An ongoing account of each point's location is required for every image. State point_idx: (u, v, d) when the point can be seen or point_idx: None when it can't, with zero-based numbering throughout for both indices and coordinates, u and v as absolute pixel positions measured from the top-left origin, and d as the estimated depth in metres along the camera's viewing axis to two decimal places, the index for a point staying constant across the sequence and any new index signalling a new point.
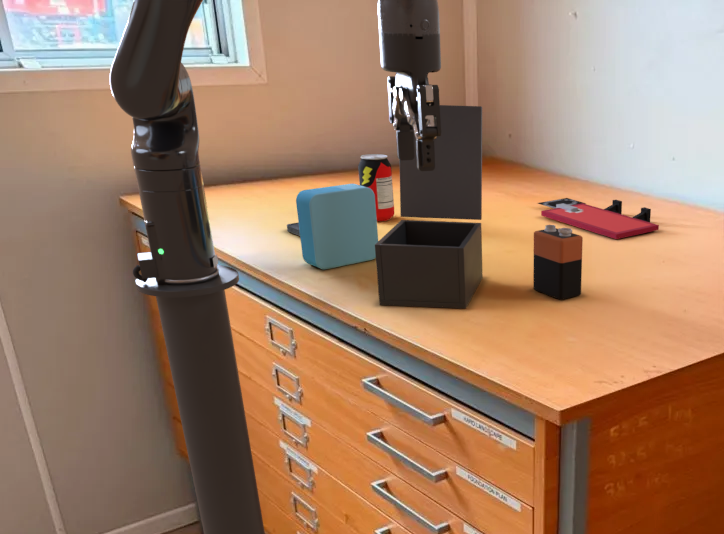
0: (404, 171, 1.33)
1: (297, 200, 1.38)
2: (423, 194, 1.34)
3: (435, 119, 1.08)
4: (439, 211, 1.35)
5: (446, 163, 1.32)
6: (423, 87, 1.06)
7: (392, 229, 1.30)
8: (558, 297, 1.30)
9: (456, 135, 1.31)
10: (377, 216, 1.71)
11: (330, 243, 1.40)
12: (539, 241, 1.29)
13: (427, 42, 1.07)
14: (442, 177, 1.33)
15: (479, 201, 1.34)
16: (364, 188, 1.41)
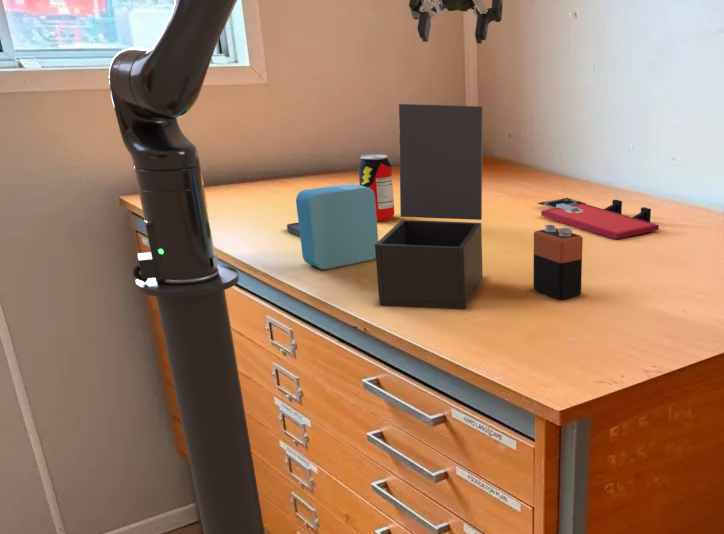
0: (404, 171, 1.33)
1: (297, 200, 1.38)
2: (423, 194, 1.34)
3: None
4: (439, 211, 1.35)
5: (446, 163, 1.33)
6: None
7: (392, 229, 1.30)
8: (558, 297, 1.30)
9: (456, 135, 1.31)
10: (377, 216, 1.71)
11: (330, 243, 1.40)
12: (539, 241, 1.29)
13: None
14: (442, 177, 1.33)
15: (479, 201, 1.34)
16: (364, 188, 1.41)
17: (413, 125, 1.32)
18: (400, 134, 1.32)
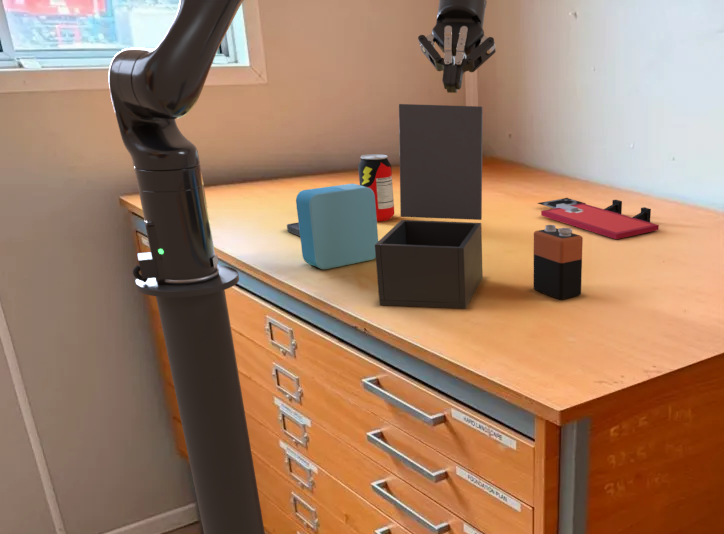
0: (404, 171, 1.33)
1: (297, 200, 1.38)
2: (423, 194, 1.34)
3: (477, 62, 1.41)
4: (439, 211, 1.35)
5: (446, 163, 1.33)
6: (493, 42, 1.40)
7: (392, 229, 1.30)
8: (558, 297, 1.30)
9: (456, 135, 1.31)
10: (377, 216, 1.71)
11: (330, 243, 1.40)
12: (539, 241, 1.29)
13: None
14: (442, 177, 1.33)
15: (479, 201, 1.34)
16: (364, 188, 1.41)
17: (413, 125, 1.32)
18: (400, 134, 1.32)
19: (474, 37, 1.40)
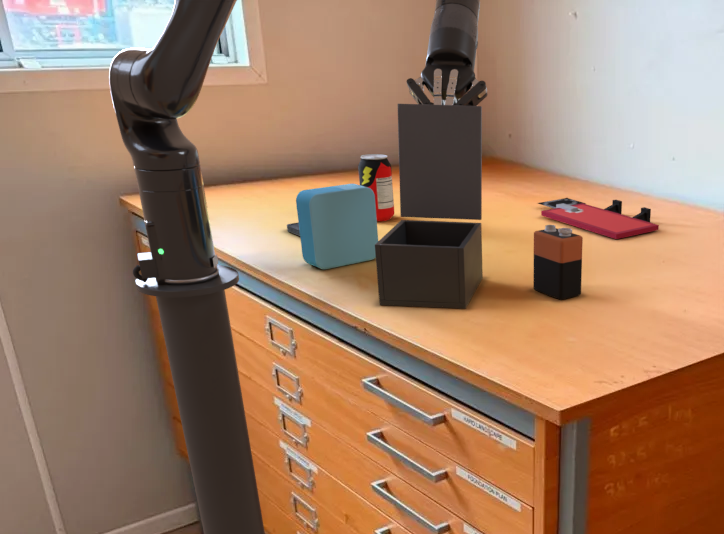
0: (404, 171, 1.33)
1: (297, 200, 1.38)
2: (423, 194, 1.34)
3: None
4: (439, 212, 1.35)
5: (446, 163, 1.32)
6: (485, 86, 1.34)
7: (392, 229, 1.30)
8: (558, 297, 1.30)
9: (456, 135, 1.31)
10: (377, 216, 1.71)
11: (330, 243, 1.40)
12: (539, 241, 1.29)
13: None
14: (442, 177, 1.33)
15: (479, 201, 1.34)
16: (364, 188, 1.41)
17: (412, 125, 1.31)
18: (399, 134, 1.31)
19: (465, 81, 1.34)
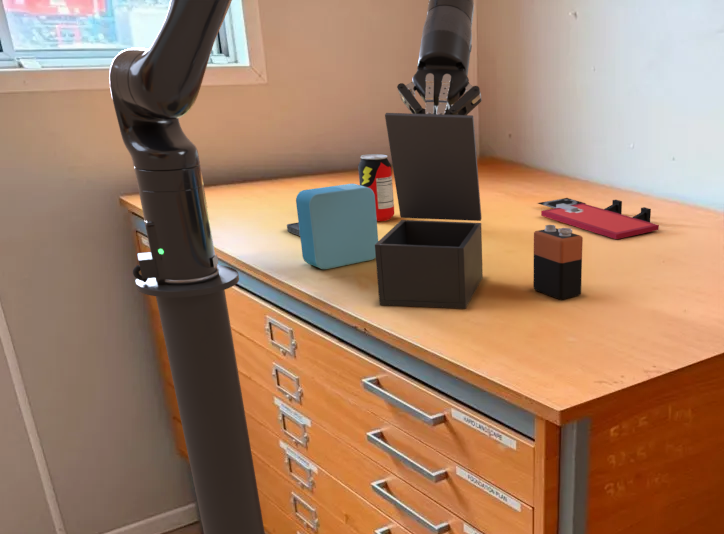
0: (399, 178, 1.30)
1: (297, 200, 1.38)
2: (421, 198, 1.33)
3: (461, 112, 1.30)
4: (438, 214, 1.34)
5: (441, 170, 1.29)
6: (479, 91, 1.29)
7: (392, 229, 1.30)
8: (558, 297, 1.30)
9: (449, 145, 1.26)
10: (377, 216, 1.71)
11: (330, 243, 1.40)
12: (539, 241, 1.29)
13: None
14: (438, 183, 1.31)
15: (478, 205, 1.33)
16: (364, 188, 1.41)
17: (402, 136, 1.26)
18: (390, 144, 1.27)
19: (458, 86, 1.29)
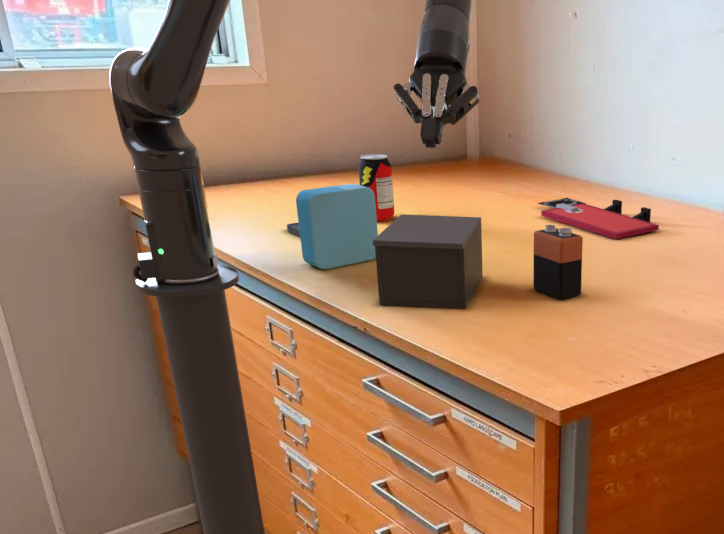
0: None
1: (297, 200, 1.38)
2: None
3: (459, 113, 1.28)
4: None
5: None
6: (477, 91, 1.27)
7: None
8: (558, 297, 1.30)
9: None
10: (377, 216, 1.71)
11: (330, 243, 1.40)
12: (539, 241, 1.29)
13: None
14: None
15: (477, 226, 1.33)
16: (364, 188, 1.41)
17: None
18: None
19: (455, 86, 1.27)
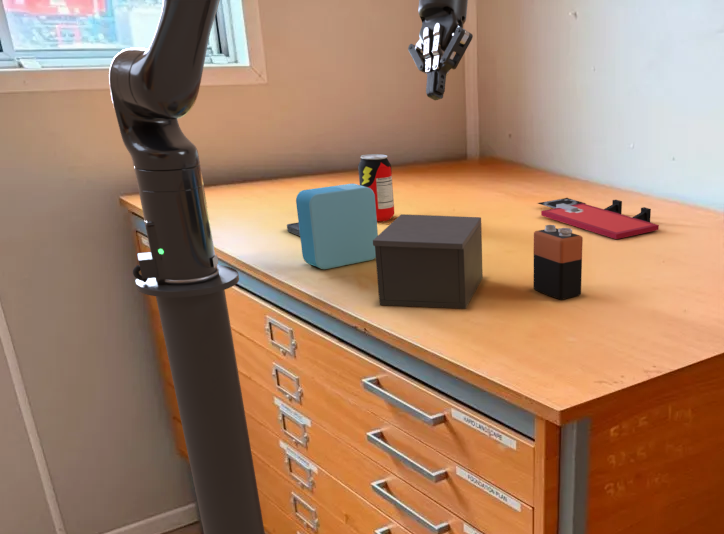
0: None
1: (297, 200, 1.38)
2: None
3: (457, 56, 1.35)
4: None
5: None
6: (463, 31, 1.33)
7: None
8: (558, 297, 1.30)
9: None
10: (377, 216, 1.71)
11: (330, 243, 1.40)
12: (539, 241, 1.29)
13: None
14: None
15: (477, 226, 1.33)
16: (364, 188, 1.41)
17: None
18: None
19: (447, 31, 1.34)
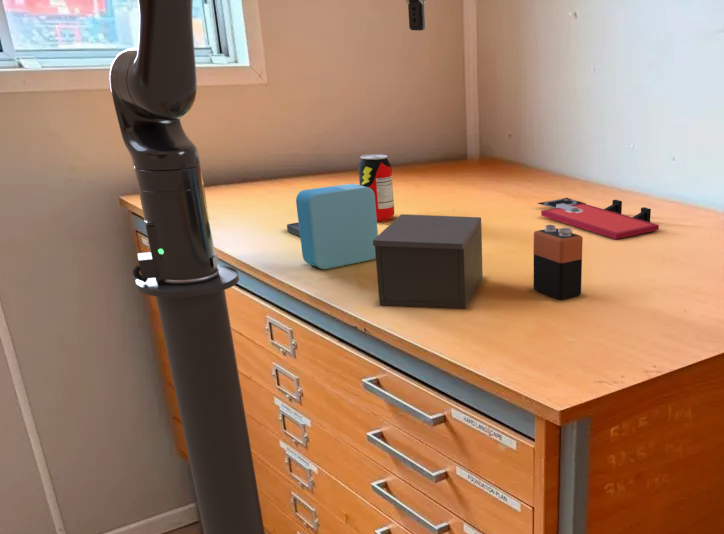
0: None
1: (297, 200, 1.38)
2: None
3: None
4: None
5: None
6: None
7: None
8: (558, 297, 1.30)
9: None
10: (377, 216, 1.71)
11: (330, 243, 1.40)
12: (538, 241, 1.29)
13: None
14: None
15: (477, 226, 1.33)
16: (364, 188, 1.41)
17: None
18: None
19: None
